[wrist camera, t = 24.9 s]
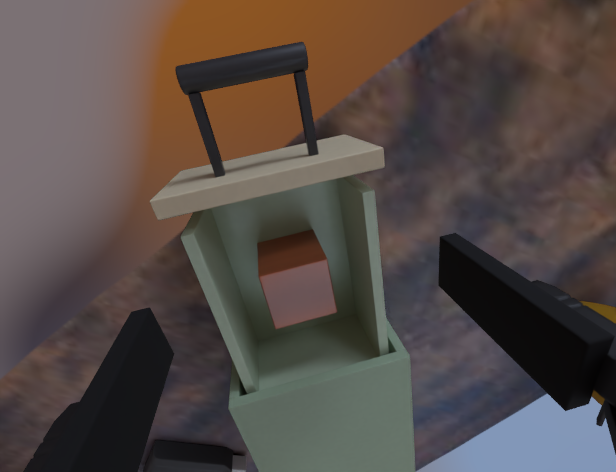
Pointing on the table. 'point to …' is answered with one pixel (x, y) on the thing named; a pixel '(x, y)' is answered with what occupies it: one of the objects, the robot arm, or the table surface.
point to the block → (295, 279)
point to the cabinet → (332, 418)
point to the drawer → (280, 230)
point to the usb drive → (192, 458)
